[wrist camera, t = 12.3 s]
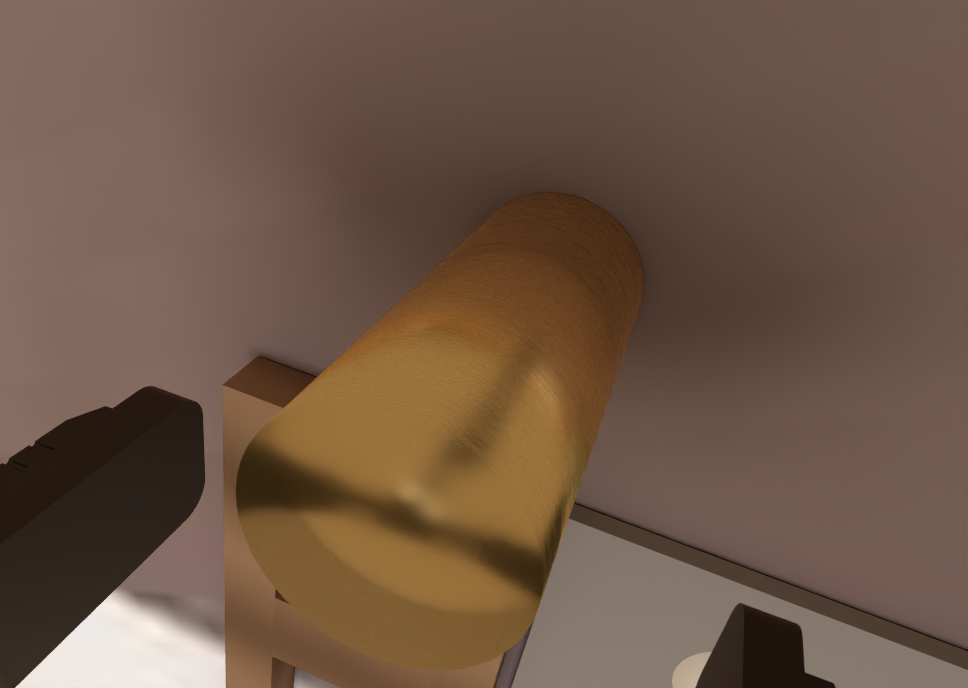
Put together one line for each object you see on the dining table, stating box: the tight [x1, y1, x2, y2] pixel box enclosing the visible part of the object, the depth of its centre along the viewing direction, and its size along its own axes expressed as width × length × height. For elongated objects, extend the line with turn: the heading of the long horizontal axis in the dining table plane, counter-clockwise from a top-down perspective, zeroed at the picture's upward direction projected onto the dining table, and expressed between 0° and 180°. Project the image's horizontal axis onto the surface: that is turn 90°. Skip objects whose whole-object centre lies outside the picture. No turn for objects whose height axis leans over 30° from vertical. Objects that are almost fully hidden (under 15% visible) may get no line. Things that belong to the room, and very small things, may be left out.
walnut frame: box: [223, 356, 506, 688], centre depth 24 cm, size 18×9×2 cm, turn 169°
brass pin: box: [236, 193, 644, 670], centre depth 13 cm, size 4×4×9 cm
